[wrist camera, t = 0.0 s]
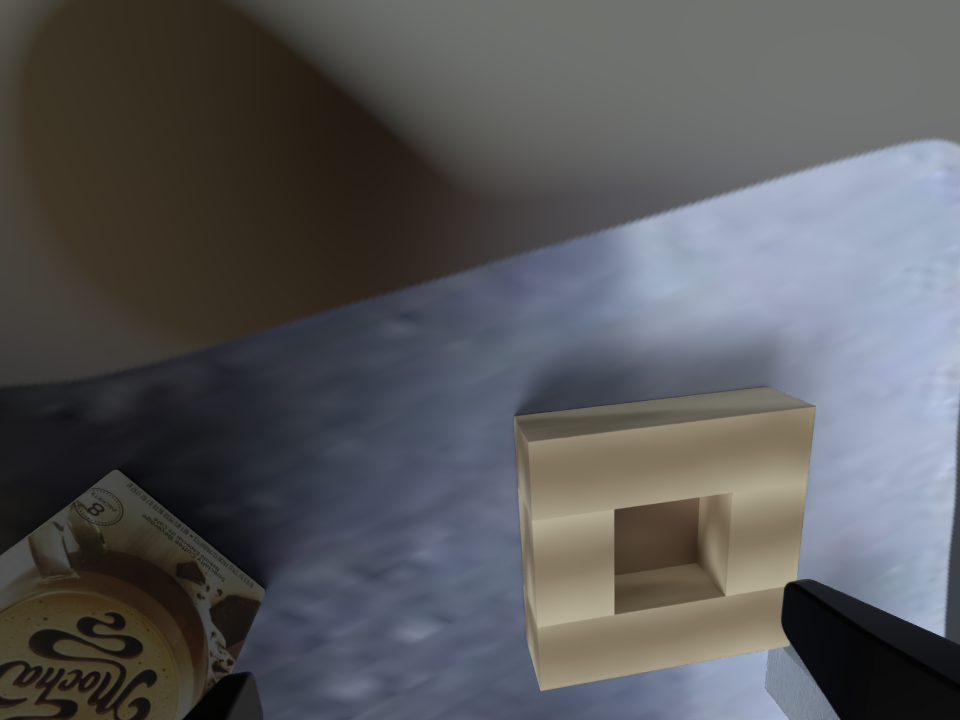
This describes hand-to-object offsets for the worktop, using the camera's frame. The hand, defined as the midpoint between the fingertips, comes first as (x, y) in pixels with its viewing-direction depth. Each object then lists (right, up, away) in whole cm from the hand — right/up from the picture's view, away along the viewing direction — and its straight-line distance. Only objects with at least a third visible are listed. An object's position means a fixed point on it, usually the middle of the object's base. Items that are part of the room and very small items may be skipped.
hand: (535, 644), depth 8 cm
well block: (+8, -4, +17) cm, 19 cm away
